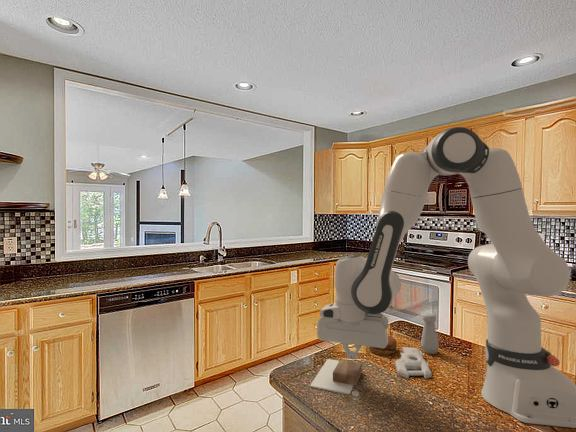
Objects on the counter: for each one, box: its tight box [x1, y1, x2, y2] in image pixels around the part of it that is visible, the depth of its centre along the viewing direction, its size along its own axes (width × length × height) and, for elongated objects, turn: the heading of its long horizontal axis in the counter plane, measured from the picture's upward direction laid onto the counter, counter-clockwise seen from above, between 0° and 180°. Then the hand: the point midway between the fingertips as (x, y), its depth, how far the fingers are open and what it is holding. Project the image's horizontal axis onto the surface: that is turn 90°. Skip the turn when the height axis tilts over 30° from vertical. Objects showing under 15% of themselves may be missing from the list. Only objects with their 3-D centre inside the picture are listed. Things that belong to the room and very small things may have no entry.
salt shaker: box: [420, 312, 440, 355], centre depth 112 cm, size 6×6×13 cm
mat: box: [309, 358, 354, 396], centre depth 96 cm, size 11×18×1 cm, turn 157°
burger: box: [368, 335, 398, 356], centre depth 114 cm, size 10×9×5 cm
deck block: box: [333, 359, 363, 386], centre depth 94 cm, size 2×9×6 cm
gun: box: [394, 346, 433, 380], centre depth 101 cm, size 18×3×10 cm
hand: (352, 358), depth 94 cm, fingers closed
